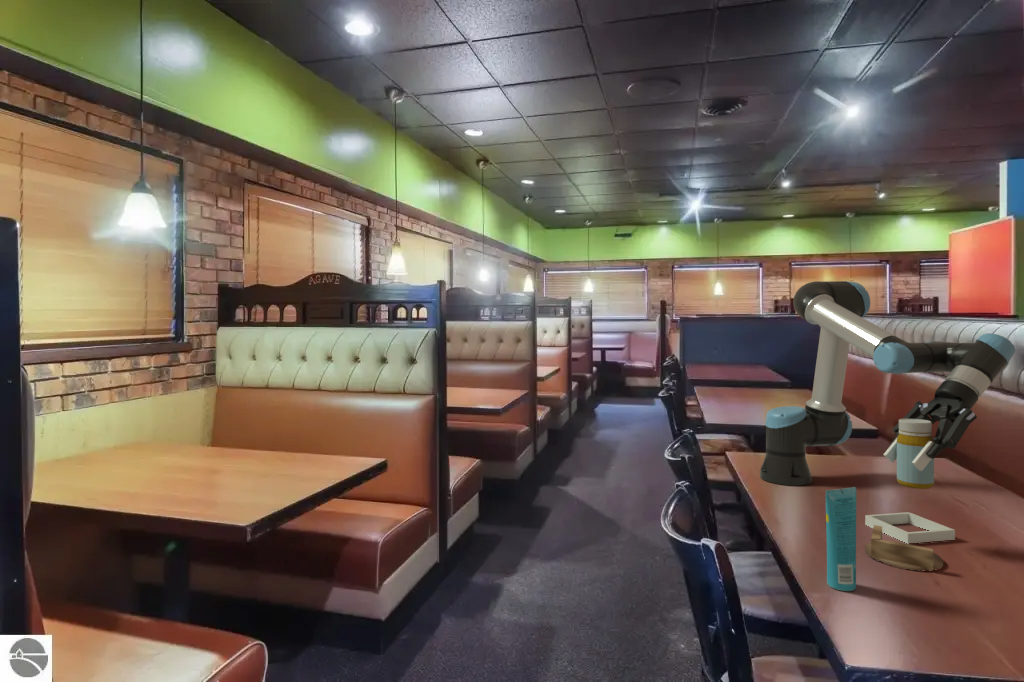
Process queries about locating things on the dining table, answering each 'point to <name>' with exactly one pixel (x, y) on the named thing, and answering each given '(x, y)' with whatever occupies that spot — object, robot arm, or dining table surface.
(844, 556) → the tube
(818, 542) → the dining table surface
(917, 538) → the grey frame
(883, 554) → the v block
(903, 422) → the bottle
